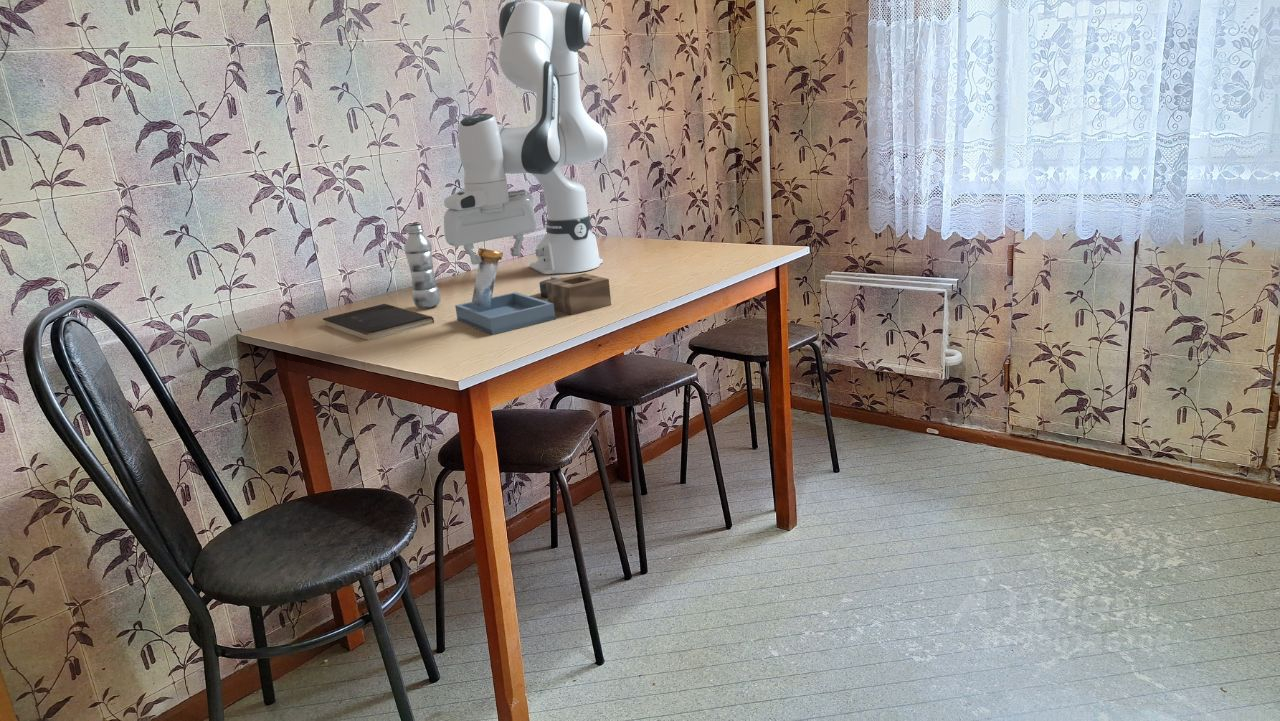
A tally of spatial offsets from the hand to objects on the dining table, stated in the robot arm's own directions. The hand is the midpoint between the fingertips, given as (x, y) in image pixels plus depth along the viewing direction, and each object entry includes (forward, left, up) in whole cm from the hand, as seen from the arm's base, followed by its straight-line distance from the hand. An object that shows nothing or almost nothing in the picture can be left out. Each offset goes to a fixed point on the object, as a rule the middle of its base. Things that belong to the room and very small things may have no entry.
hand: (496, 259), depth 179 cm
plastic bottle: (-27, -7, -14) cm, 31 cm away
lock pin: (0, -5, -9) cm, 10 cm away
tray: (+1, 0, -13) cm, 13 cm away
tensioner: (0, +17, -13) cm, 22 cm away
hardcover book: (-22, -21, -14) cm, 34 cm away
